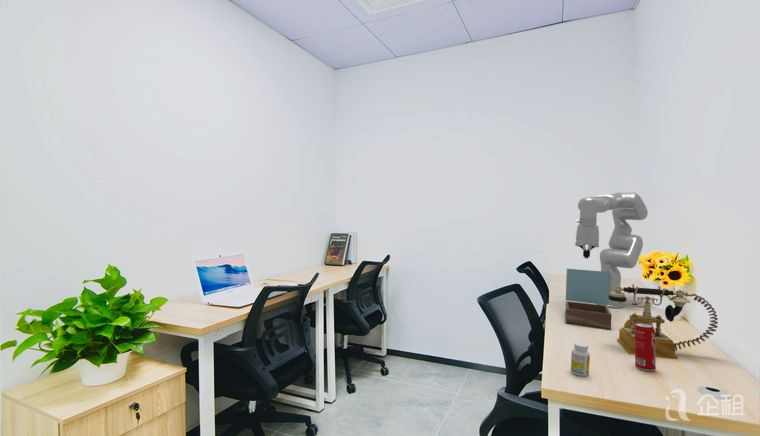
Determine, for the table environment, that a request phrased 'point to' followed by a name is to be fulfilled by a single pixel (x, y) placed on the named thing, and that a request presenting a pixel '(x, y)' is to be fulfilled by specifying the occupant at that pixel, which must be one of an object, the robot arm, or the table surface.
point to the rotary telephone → (657, 319)
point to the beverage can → (645, 346)
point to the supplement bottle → (580, 359)
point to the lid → (587, 286)
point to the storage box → (588, 315)
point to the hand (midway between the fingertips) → (586, 258)
